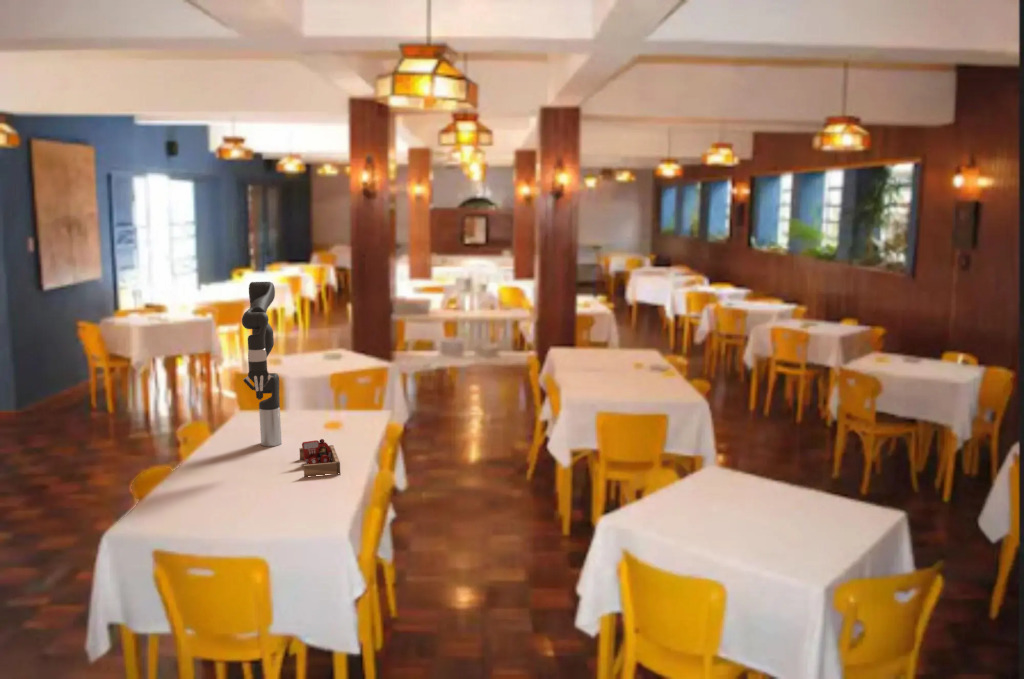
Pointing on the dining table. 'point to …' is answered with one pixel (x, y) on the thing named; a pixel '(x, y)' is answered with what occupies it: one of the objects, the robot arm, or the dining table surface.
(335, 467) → the open wooden box
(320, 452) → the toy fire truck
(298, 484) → the dining table surface
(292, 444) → the dining table surface
